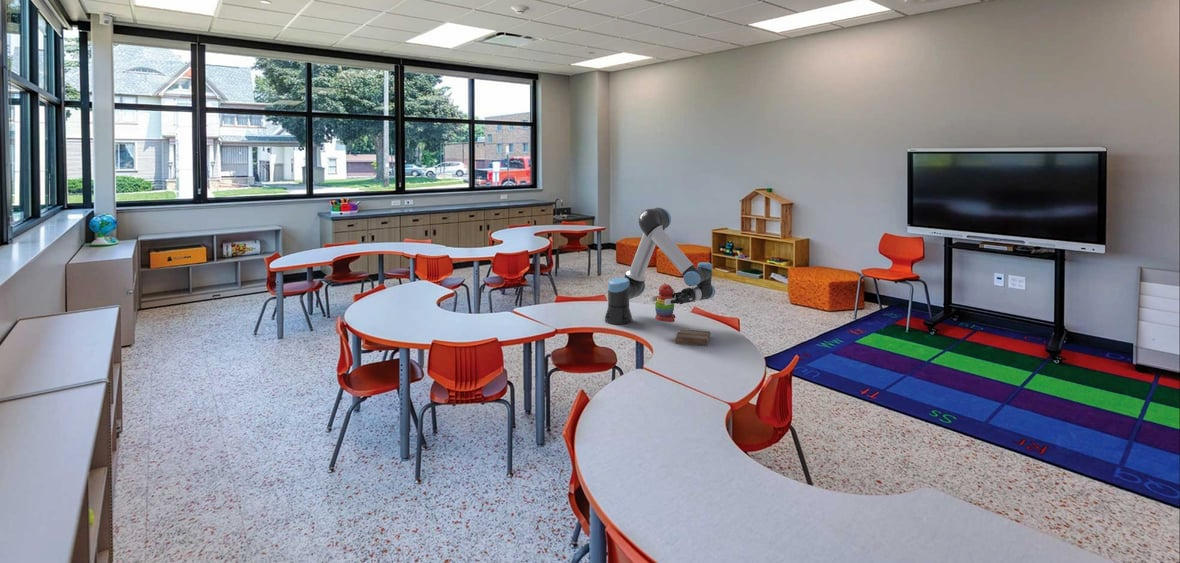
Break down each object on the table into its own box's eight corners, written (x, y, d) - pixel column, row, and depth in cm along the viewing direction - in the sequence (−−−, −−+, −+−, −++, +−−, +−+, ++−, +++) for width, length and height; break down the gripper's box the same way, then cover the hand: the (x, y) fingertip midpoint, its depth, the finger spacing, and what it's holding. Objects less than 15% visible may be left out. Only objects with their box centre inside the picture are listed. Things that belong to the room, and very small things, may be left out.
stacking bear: (674, 322, 299) (676, 287, 295) (653, 321, 301) (655, 286, 297) (675, 316, 309) (677, 282, 305) (655, 315, 311) (657, 281, 307)
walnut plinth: (680, 334, 310) (680, 329, 309) (710, 337, 305) (710, 331, 305) (675, 343, 296) (675, 337, 295) (706, 345, 291) (707, 339, 291)
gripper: (705, 306, 306) (673, 312, 293) (675, 297, 323) (643, 303, 309) (706, 291, 305) (674, 297, 291) (676, 283, 321) (644, 289, 308)
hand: (658, 300), depth 300 cm, fingers closed on stacking bear, 9 cm apart
